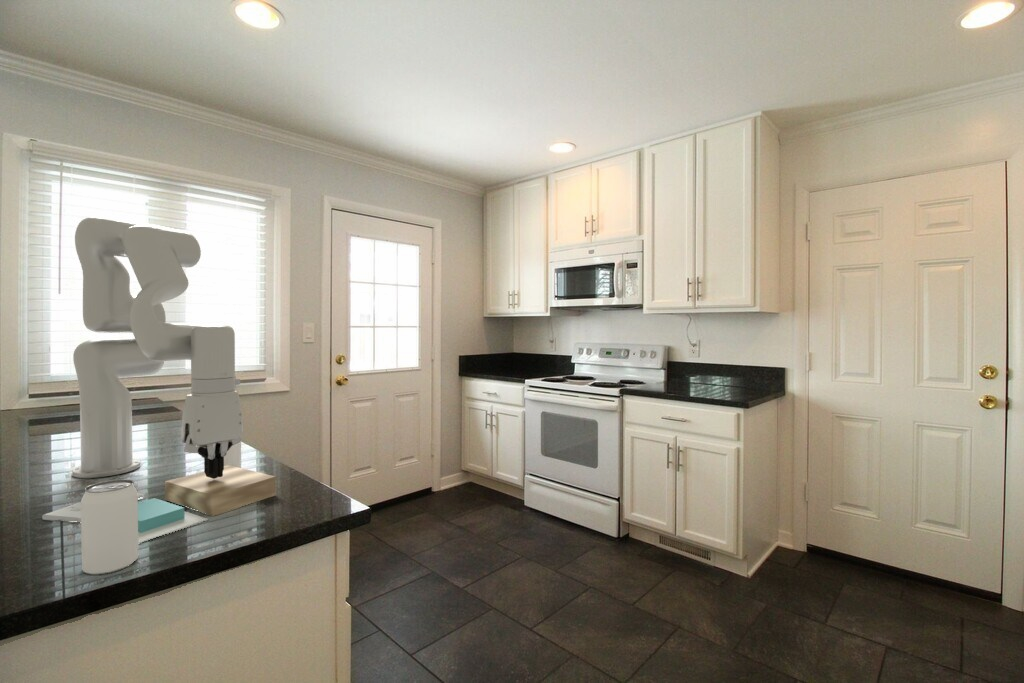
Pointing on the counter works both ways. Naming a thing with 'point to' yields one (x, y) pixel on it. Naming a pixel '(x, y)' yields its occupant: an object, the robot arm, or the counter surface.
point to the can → (109, 526)
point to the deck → (220, 490)
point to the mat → (171, 527)
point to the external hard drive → (69, 513)
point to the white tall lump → (233, 456)
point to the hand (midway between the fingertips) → (214, 476)
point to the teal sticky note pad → (157, 514)
